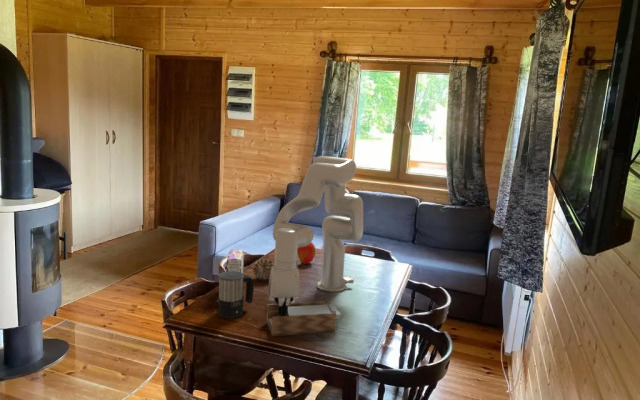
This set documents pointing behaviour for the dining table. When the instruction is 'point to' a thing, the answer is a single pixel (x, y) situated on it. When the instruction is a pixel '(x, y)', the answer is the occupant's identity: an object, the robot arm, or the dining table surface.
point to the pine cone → (263, 268)
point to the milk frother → (233, 293)
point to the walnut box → (299, 321)
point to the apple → (306, 253)
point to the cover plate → (313, 310)
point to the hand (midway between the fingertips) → (282, 315)
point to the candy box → (235, 260)
